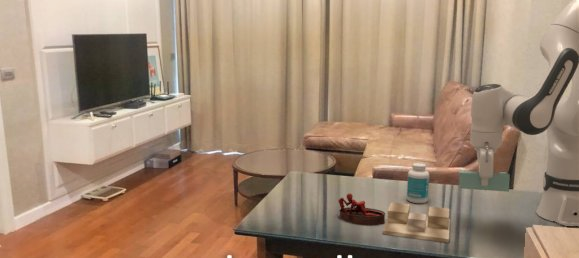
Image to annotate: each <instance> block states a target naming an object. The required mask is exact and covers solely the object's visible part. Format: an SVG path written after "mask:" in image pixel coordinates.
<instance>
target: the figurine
mask: <svg viewBox="0 0 579 258" xmlns="http://www.w3.org/2000/svg"><path fill="white" fill-rule="evenodd" d="M346 199H347V201H346V200H345V198H344V197H341V198H339V199H338V203H339V208H340V209H339V211H338V212H339V218H340V219H341V220H342V221H344V222H347V223H350V224H353V225H354V224H355V225H360V226H380V225H385V223H386V221H385V217H386V213H385V212H384V211H383V210H380V209H377V208H376V209H375V208H370V207H366V201H365V200H360V201H357V200H355V199H353V194H352V193H347V195H346ZM344 204H345V205H344ZM349 205H350V206H349ZM345 206H346V207H345Z"/></svg>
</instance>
